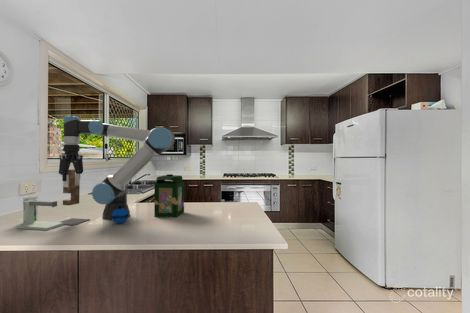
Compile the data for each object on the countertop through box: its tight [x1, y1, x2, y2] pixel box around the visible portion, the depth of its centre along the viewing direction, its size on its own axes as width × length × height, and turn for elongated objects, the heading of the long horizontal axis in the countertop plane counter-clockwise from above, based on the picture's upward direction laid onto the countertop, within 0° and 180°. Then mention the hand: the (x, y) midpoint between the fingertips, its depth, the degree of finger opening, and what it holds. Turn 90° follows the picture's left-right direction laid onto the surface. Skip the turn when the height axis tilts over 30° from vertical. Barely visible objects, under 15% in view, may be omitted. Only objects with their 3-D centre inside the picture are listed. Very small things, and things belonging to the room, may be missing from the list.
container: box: [153, 173, 185, 219], centre depth 164 cm, size 15×18×25 cm
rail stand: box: [16, 200, 65, 231], centre depth 136 cm, size 18×10×13 cm, turn 79°
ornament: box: [111, 205, 130, 225], centre depth 143 cm, size 9×9×10 cm
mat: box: [59, 217, 91, 227], centre depth 145 cm, size 12×12×1 cm
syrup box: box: [22, 194, 39, 224], centre depth 144 cm, size 6×6×14 cm
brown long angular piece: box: [62, 169, 81, 206], centre depth 144 cm, size 4×7×19 cm, turn 169°
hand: (71, 186), depth 144 cm, fingers closed on brown long angular piece, 7 cm apart
